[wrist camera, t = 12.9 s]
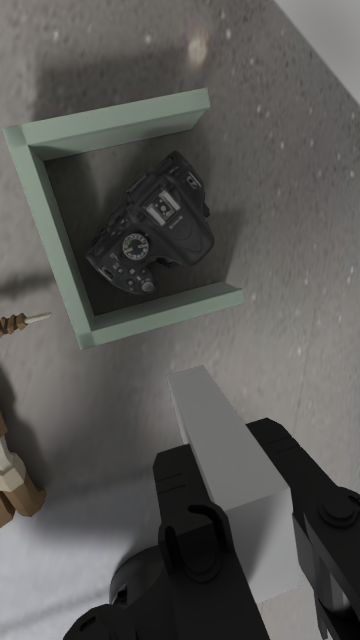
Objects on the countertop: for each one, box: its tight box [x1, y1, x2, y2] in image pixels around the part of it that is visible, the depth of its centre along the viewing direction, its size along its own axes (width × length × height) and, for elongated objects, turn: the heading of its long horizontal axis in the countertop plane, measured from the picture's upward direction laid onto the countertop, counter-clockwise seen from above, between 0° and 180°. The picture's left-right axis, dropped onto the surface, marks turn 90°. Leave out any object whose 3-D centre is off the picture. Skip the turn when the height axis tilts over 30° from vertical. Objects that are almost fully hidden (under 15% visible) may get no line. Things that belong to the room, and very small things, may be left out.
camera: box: [84, 151, 214, 295], centre depth 29 cm, size 13×10×10 cm
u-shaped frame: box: [2, 87, 245, 350], centre depth 31 cm, size 18×16×7 cm
